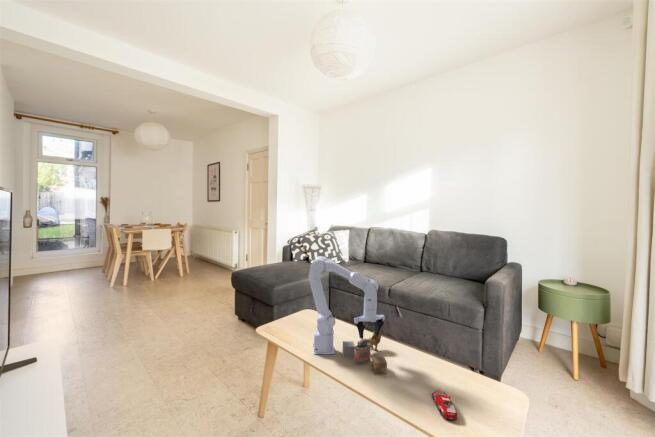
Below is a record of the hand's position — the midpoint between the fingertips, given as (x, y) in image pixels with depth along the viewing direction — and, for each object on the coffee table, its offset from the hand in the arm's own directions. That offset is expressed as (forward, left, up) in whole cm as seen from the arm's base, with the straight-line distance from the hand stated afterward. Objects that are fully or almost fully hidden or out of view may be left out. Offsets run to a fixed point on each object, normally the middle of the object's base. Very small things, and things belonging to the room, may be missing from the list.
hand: (368, 336), depth 129 cm
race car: (+21, -31, -11) cm, 39 cm away
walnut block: (+3, -9, -10) cm, 14 cm away
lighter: (-3, -3, -11) cm, 11 cm away
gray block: (-8, +4, -10) cm, 14 cm away
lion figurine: (+2, +7, -11) cm, 13 cm away
